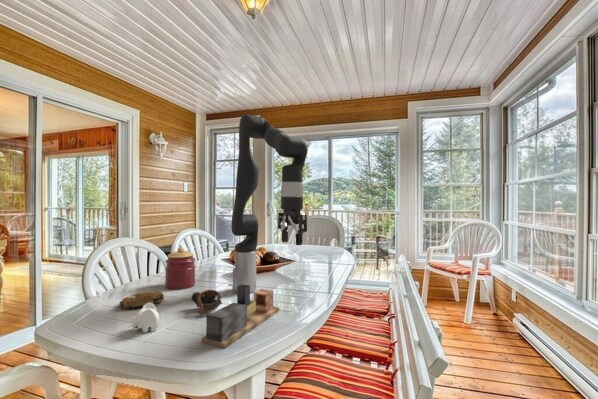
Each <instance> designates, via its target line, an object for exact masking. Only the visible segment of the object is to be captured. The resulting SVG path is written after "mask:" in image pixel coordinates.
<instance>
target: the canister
mask: <svg viewBox="0 0 598 399" xmlns="http://www.w3.org/2000/svg"><path fill="white" fill-rule="evenodd" d="M166 257H167V259H166V260H165V264H166V266H165V268H164V270H165V282H164V285H165V288H166V289H168V290H185V289H189V288H192V287H194V286H195V284H196V264H195V261H196V258H195V257H194V253H193V252H191V251H189V250H184V248H183V247H181V246H180V247H178V248H177V251H176V250H175V251H172V252H170V253H169V254H168V255H167V256H166Z"/></svg>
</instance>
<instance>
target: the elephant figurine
mask: <svg viewBox="0 0 598 399" xmlns="http://www.w3.org/2000/svg"><path fill="white" fill-rule="evenodd" d="M157 310H158V308H157V306H156V304H153V303H150V302H149V303H147V304H145V305H144V306H142V308H140V309H139V310H138V311H137V313H136V315H135V317H134V318H133V319H132V320H131V321H130V322H129V324H130V325H129V326H128V327H127V329H129V328H132V330H133V331H137V330H138V329H139V327H140V328H141V329H142V332H143V333H148V332H149V328H150V331H151V332H156V331H157V330H158V328H159V326H160V318H161V317H162V316H163V315H164V313H162V314H159V312H158V311H157Z"/></svg>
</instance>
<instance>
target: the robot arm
mask: <svg viewBox="0 0 598 399" xmlns="http://www.w3.org/2000/svg"><path fill="white" fill-rule="evenodd" d="M250 139H256V140H258V139H259V140H260V139H262V140H264V141H265V143H266V144H267V145H268V146H269V147H271V148H272V149H274V150H275V152H276V153H277V155H279V156H281V157H283V158H288V159H289V158H290V159H293V160H292V163H291V164H285V165H283V166H282V168H281V188H280V210H283V211H279V212H278V213H277V215H278V216H277V229H278V230H280V231H281V242H282V243H288V242H289V229H290V227H292V228H293V229H294V231H295V245H296V246H302V245H303V234H304V233H307V232H308V214H307V213H301V211H302V210H303V209H304V187H303V170H304V168H305V162H306V159H307V157H308V156H307V155H308V150H309V147H308V142H307V141H306V140H305V139H304V138H301V137H295V136H290V135H289V134H288V133H287V132H286V131H282V130H281V129H279V128H276V127H275V126H273V125H272V124H271V123H270V122H269V121H268V120H267V119H266V118H264V117H262V116H258V115H252V114H249V113H248V114H242V115H241V118H240V121H239V125H238V159H237V169H236V179H235V180H236V181H235V183H236V184H235V196H234V204H233V209H232V217H231V223H230V224H231V225H230V229H231V233H232V235H233V236H235V237H241V236H245V238H244V239H243V240H242V241H240V242H239V243H236V244H235V246H234V268H232V291H234V292H235V293H237V286H239V285H242V284H243V285H250V294H251V293H254V292H256V291H257V247H258V242H259V241H258V240H259V219H258V217H257V216H256V214H252V213H249V214H248V213H247V214H246V213H245V208H246V206H247V203H248V201H249V200H250V198H251V197H252V195H253V194H254V193H255V191H256V190H257V188H258V184H259V175H260V170H259V166H258V164H257V162H256V159H255V158H254V156H253V153H252V150H251V143H250V142H251V140H250ZM244 213H245V214H244Z"/></svg>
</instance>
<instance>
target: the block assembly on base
mask: <svg viewBox="0 0 598 399" xmlns="http://www.w3.org/2000/svg"><path fill="white" fill-rule="evenodd" d="M253 301H256V311H254V312H253V313H251V314H249V315H248V316H247V305H245V304H239V303H237V302H231V303H229V304H228V305H225V306H224V307H222V308H220V309H217V310H216V311H215V310H214V312H211V313H209V314H207V315H206V325H205V326H206V334H205V336H203V337H202V338H201V343H204V344H208V345H212V346H215V347H219V348H223V349H227V348H228V347H230V346H231V345H232V344H234V343H236V342H237V341H238V340H239V339H241V338H242V337H244V336H245V335H247V334H248V333H250V332H252V330H254V329H255V328H257V327H258V326H260V325H261V324H263V323H264V322H265V321H267V320H269V319H270V318H271V317H273V316H274V315H276V314H277V313H279V312H280V306H274V291H273V290H269V289H265V288H264V289H263V288H259V289H258V290H256V291H254V292H253ZM278 311H279V312H278Z"/></svg>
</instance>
